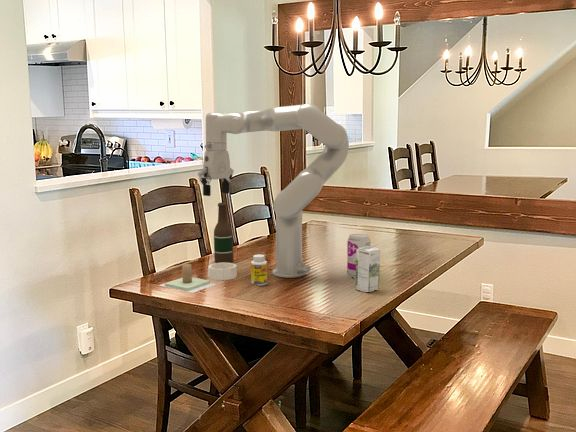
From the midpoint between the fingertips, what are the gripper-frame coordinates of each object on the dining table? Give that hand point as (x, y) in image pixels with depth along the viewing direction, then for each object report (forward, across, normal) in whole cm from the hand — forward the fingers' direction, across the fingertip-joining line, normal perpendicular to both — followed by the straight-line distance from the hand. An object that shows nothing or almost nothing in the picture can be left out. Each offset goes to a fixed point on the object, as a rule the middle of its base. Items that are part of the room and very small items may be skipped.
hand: (216, 194), depth 225 cm
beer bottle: (+30, +13, +9) cm, 34 cm away
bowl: (+30, -4, -7) cm, 31 cm away
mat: (+30, -19, -5) cm, 36 cm away
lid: (+29, -19, -5) cm, 35 cm away
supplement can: (+28, +27, -45) cm, 60 cm away
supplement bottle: (+29, -2, -23) cm, 37 cm away
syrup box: (+28, +14, -57) cm, 65 cm away
